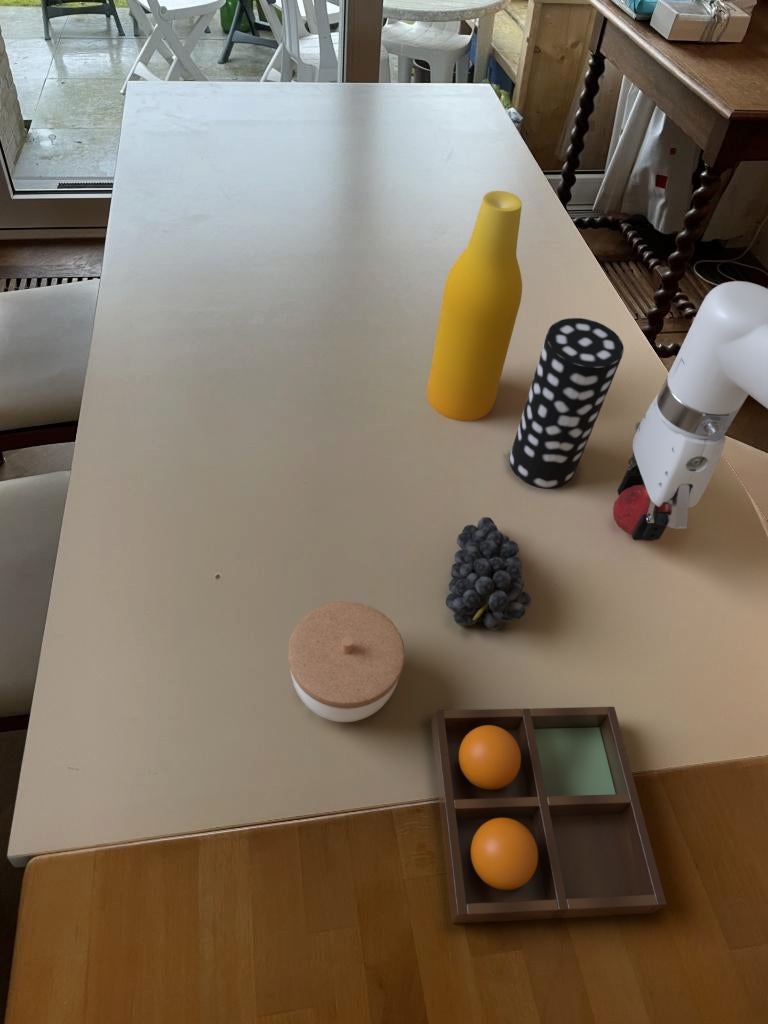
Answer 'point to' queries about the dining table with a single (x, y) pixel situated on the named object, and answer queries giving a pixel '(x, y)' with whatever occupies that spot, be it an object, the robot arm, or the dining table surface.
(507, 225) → the beer bottle
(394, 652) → the trinket box
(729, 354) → the robot arm
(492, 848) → the clementine
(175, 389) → the dining table surface
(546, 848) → the wooden compartment tray
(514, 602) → the fruit
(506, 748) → the clementine
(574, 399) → the white-spotted black cylinder
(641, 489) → the pomegranate
